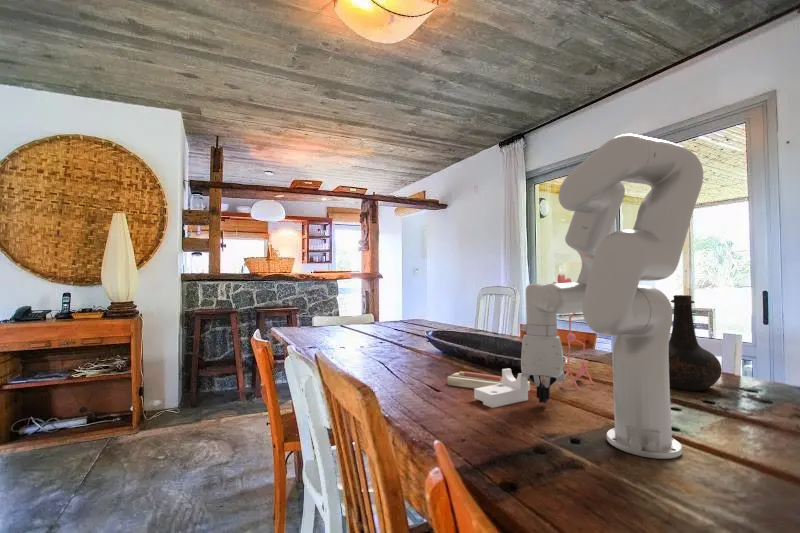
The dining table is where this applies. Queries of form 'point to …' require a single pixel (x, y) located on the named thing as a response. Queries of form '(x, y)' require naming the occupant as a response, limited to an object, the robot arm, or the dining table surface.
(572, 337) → the figurine
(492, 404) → the bracket
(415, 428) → the dining table surface
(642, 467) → the dining table surface
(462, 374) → the pencil
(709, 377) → the glass bottle
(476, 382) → the board
